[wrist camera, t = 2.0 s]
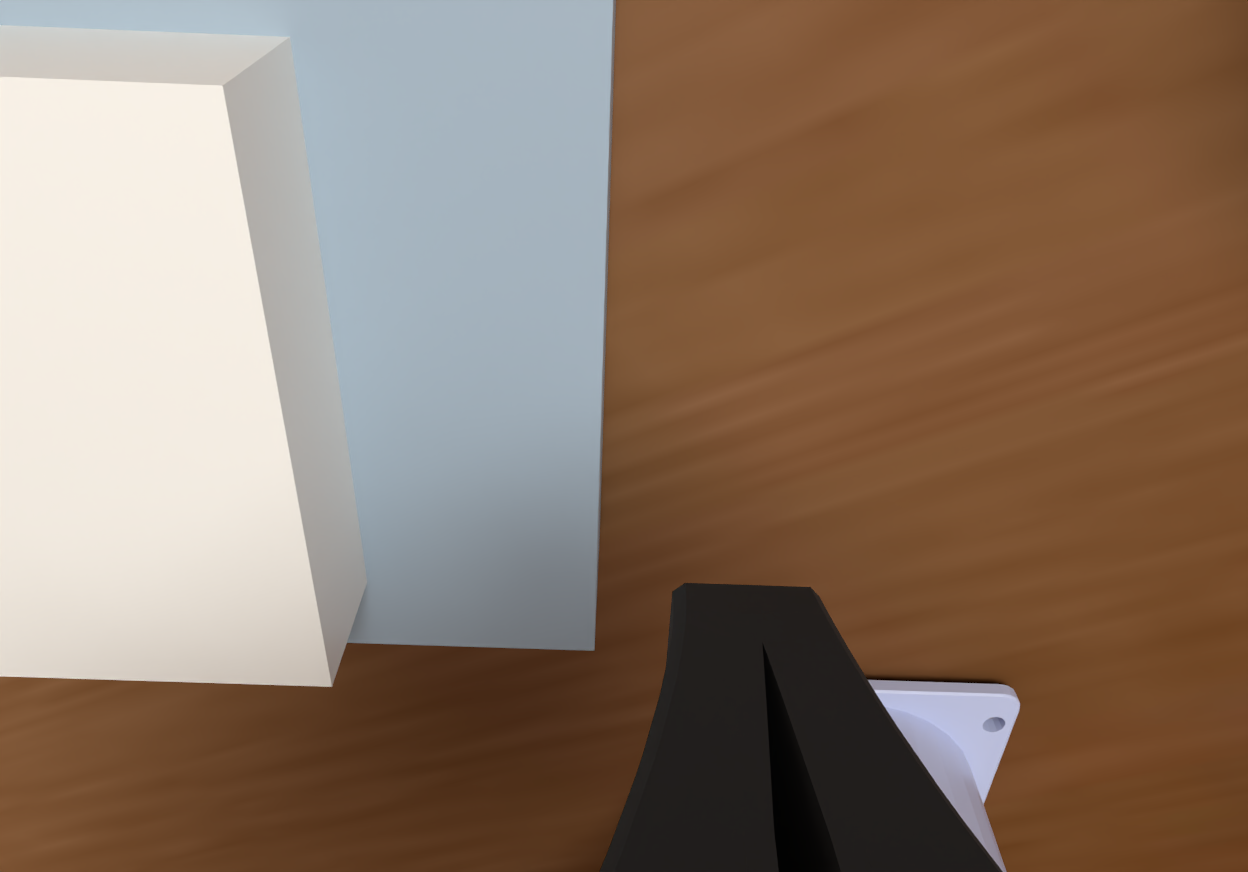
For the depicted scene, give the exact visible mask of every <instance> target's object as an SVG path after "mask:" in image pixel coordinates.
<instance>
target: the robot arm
mask: <svg viewBox="0 0 1248 872" xmlns="http://www.w3.org/2000/svg"><path fill="white" fill-rule="evenodd" d="M1019 710H1020V702H1019V700H1018V698H1017V695H1016V693H1015V691H1014V690H1013V689H1012V688H1011V687H1009V686H1007V685H1002V684H982V683H951V682H920V681H889V680H867V678H866V677H865V675H864V673H863V672H862V670H861V668H860V667H859V665H858V664H857V662H856V660H855V659H854V657H853V655H852V654H851V652H850V650H849V649H848V647H847V645H846V643H845V642H844V640H843V638H842V637H841V635H840V633H839V631H838V630H837V628H836V626H835V624H834V623H833V621H832V619H831V617H830V615H829V614H828V612H827V610H826V608H825V606H824V604H823V603H822V601H821V599H820V597H819V596H818V595H817V594H816V593H815V592H814V591H813V590H812V589H811V588H810V587H788V586H758V585H728V584H698V583H684V584H683V585H682V586H680V587H679V588H677V589H676V590H674V591H673V592H672V603H671V615H670V627H669V638H668V650H667V662H666V670H665V674H664V679H663V684H662V688H661V693H660V697H659V700H658V704H657V707H656V710H655V714H654V717H653V721H652V724H651V728H650V731H649V735H648V738H647V742H646V745H645V749H644V752H643V756H642V759H641V762H640V765H639V768H638V771H637V774H636V777H635V779H634V782H633V785H632V788H631V790H630V793H629V796H628V798H627V801H626V804H625V807H624V809H623V812H622V815H621V817H620V820H619V823H618V826H617V828H616V831H615V834H614V836H613V839H612V842H611V845H610V847H609V850H608V852H607V855H606V857H605V860H604V862H603V865H602V867H601V869H600V872H1006V869H1005V866H1004V863H1003V860H1002V857H1001V855H1000V852H999V849H998V846H997V843H996V840H995V837H994V834H993V831H992V828H991V825H990V823H989V820H988V817H987V814H986V811H985V808H984V802H985V799H986V797H987V794H988V791H989V789H990V786H991V783H992V781H993V778H994V776H995V773H996V770H997V768H998V765H999V762H1000V760H1001V757H1002V754H1003V752H1004V749H1005V747H1006V744H1007V741H1008V739H1009V736H1010V733H1011V731H1012V728H1013V725H1014V723H1015V720H1016V718H1017V715H1018V712H1019ZM989 718H990V719H989Z"/></svg>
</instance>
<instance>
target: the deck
mask: <svg viewBox="0 0 1248 872" xmlns="http://www.w3.org/2000/svg"><path fill="white" fill-rule="evenodd" d="M615 12H616V0H0V25H11V26H35V27H60V28H84V29H109V30H133V31H158V32H182V33H207V34H231V35H256V36H280V37H290V40H291V47H292V54H293V61H294V68H295V75H296V82H297V90H298V97H299V104H300V111H301V118H302V125H303V132H304V139H305V146H306V153H307V160H308V167H309V174H310V181H311V188H312V196H313V203H314V210H315V217H316V224H317V231H318V238H319V245H320V252H321V259H322V266H323V273H324V280H325V287H326V294H327V302H328V309H329V316H330V323H331V330H332V337H333V344H334V351H335V358H336V365H337V372H338V379H339V386H340V393H341V401H342V408H343V415H344V422H345V429H346V436H347V443H348V450H349V457H350V464H351V471H352V478H353V485H354V492H355V499H356V507H357V514H358V521H359V528H360V535H361V542H362V549H363V556H364V563H365V570H366V577H367V584H366V587H365V590H364V593H363V596H362V599H361V602H360V605H359V608H358V611H357V614H356V617H355V620H354V623H353V626H352V629H351V632H350V635H349V638H348V641H347V643H371V644H402V645H433V646H464V647H494V648H525V649H556V650H587V651H594V648H595V626H596V604H597V582H598V560H599V538H600V508H601V475H602V442H603V409H604V376H605V343H606V310H607V277H608V244H609V211H610V178H611V145H612V112H613V79H614V46H615Z"/></svg>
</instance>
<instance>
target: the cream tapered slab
mask: <svg viewBox="0 0 1248 872" xmlns="http://www.w3.org/2000/svg"><path fill="white" fill-rule="evenodd" d="M366 584H367V577H366V570H365V563H364V556H363V549H362V542H361V535H360V528H359V521H358V514H357V507H356V499H355V492H354V485H353V478H352V471H351V464H350V457H349V450H348V443H347V436H346V429H345V422H344V415H343V408H342V401H341V393H340V386H339V379H338V372H337V365H336V358H335V351H334V344H333V337H332V330H331V323H330V316H329V309H328V302H327V294H326V287H325V280H324V273H323V266H322V259H321V252H320V245H319V238H318V231H317V224H316V217H315V210H314V203H313V196H312V188H311V181H310V174H309V167H308V160H307V153H306V146H305V139H304V132H303V125H302V118H301V111H300V104H299V97H298V90H297V82H296V75H295V68H294V61H293V54H292V47H291V40H290V37H280V36H256V35H231V34H207V33H182V32H158V31H133V30H109V29H84V28H60V27H35V26H11V25H0V676H8V677H39V678H71V679H102V680H134V681H165V682H196V683H228V684H259V685H291V686H322V687H332V685H333V682H334V679H335V676H336V673H337V670H338V667H339V664H340V661H341V658H342V655H343V652H344V650H345V647H346V644H347V641H348V638H349V635H350V632H351V629H352V626H353V623H354V620H355V617H356V614H357V611H358V608H359V605H360V602H361V599H362V596H363V593H364V590H365V587H366Z"/></svg>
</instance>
